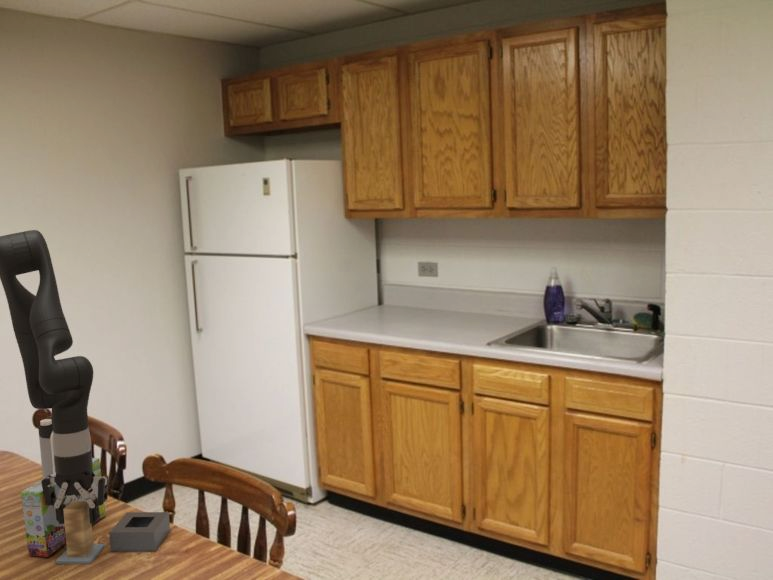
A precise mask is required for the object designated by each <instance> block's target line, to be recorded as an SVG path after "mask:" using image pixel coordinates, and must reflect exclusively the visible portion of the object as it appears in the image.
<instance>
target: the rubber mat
mask: <svg viewBox="0 0 773 580" xmlns="http://www.w3.org/2000/svg"><path fill="white" fill-rule="evenodd" d="M93 547H94V548H93V549H92V551H91V552H90V553H89V554H88V555H87V556H86V557H67V549H66V550H65V551H64V552H63V553H62V554H61V555H60V556H59V557H58V558H57V559H56V561H55V565H91V564H92V563H93V562H94V560H95V559H96V558H97V556H98V555H99V554H100V553H101V552H102V551H103V550H104V548H105V547H106V544H105V543H98V544H97V543H93Z"/></svg>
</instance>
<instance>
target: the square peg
mask: <svg viewBox="0 0 773 580" xmlns="http://www.w3.org/2000/svg"><path fill="white" fill-rule="evenodd" d="M89 508H90V506H89V505H88V503H87V501H72V502H71V503H70V504H69V505H67V506H66V507H65V508H64V509H63V510H64V522H65V534H66V544H65V545H66V550H67V557H86V556H87V555H88V554H89V553H90V552H91V551H92V549H93V548H94V547H93V544H94V537H93V536H94V534H93V525H92V524H90V516H89Z"/></svg>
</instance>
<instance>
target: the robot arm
mask: <svg viewBox="0 0 773 580" xmlns="http://www.w3.org/2000/svg"><path fill="white" fill-rule="evenodd" d="M43 235H44V234H42V233H41V232H40V231H39V230H36V229H31V230H25V231H19V232H14V233H9V234H5V235H0V282H1V284H2V288H3V291H4V294H5V298H6V301H7V305H8V310H9V315H10V319H11V324H12V328H13V333H14V337H15V340H16V343H17V346H18V349H19V353H20V357H21V360H22V363H23V365H22V366H23V369H24V371H23V372H24V375H25V376H24V377H25V382H26V388H27V395H28V398H29V403H30V405H31V406H32V407H33V409H35V410H48V409H51V412H50V413H51V418H49V419H51V420H52V424H50V423H49V424H50V425H46V424H42V425H46V426H41V425H40V424H39V425H38V437H39V450H40V459H41V460H40V461H41V462H40V463H41V474H42V479H41V480H42V481H41V480H40V481H41V483H42V488H43V493H44V498H45V503H46V505H47V506H50V505H51V506H54V507H55V509H56V520H57V521H59V524H64V523H65V522H64V510H63V509H64V508H65V507H66V504H64V502H65V500H66V498H67V496H71V495H77V496H82V498H83V499H84V500H86V501H87V503H88V505H89V506H90V508H89V516H90V524H93V525H94V524H96V523H97V522H98V521H97V520H98V519H99V517H100V515H99V505H100V506H101V505H103V503H104V504H105V502H106V501H108V498H109V496H108V495H109V494H108V493H109V491H108V490H109V476H108V475H107V474H104V475H103V476H102V475H101V476H95V474H94V473H93V462H92V458H93V453H92V450H93V449H92V446H93V445H92V444H93V443H92V439H91V434H90V429H89V417H88V406H89V399H90V393H91V389H92V386H93V382H94V380H93V379H94V366H93V365H92V362H91V361H90V359H88V358H87V357H86V356H83V355H77V356H71V357H67V358H60V359H59V358H58V359H56V358H55V356H57V355H60V354H63V353H65V352H66V351H68V350H69V349H70V348H71V347H72V346H73V345H74V342H73V340H74V339H73V336H72V333H71V331H70V327H69V324H68V322H67V319H66V316H65V314H64V311H63V307H62V303H61V299H60V293H59V288H58V284H57V279H56V275H55V269H54V266H53V261H52V257H51V254H50V250H49V247H48V244H47V241H46V238H45V237H44V236H43ZM37 271H38V273H39V283H38V288H37V291H36V294H34V293H32V292H31V291H30V290H28V289H27V288H26V287H25V286H24V285H23V284H22V283H21V282H20V281H19V280H18V278H17V276H19V275H24V274H28V273H32V272H37ZM52 431H53V453H54V465H55V472H56V476H54V477H52V476H50V475H52V474H53V464H52V463H53V462H52V452H51V442H50V436H51V433H52ZM93 482H95V483H96V487H98V497H97V495H96V493H95V489H94V488H93V486H92V483H93ZM55 483H56V484H57V485H58V486H59V488H60V491H59V494H58V496H57V498H56V494H55V489H54V485H55ZM87 491H88V493H87ZM96 521H97V522H96ZM95 522H96V523H95Z"/></svg>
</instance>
